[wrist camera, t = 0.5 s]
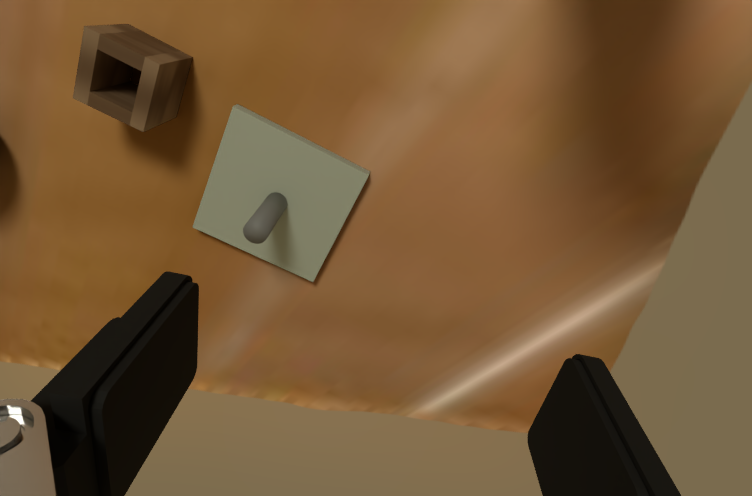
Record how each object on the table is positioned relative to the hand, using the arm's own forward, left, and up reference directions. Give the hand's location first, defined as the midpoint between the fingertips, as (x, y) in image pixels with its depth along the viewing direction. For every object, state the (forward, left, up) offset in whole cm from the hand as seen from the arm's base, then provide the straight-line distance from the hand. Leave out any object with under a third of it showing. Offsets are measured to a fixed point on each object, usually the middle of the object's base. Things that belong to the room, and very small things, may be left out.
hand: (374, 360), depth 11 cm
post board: (+14, -7, -34) cm, 37 cm away
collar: (+8, -22, -34) cm, 41 cm away
